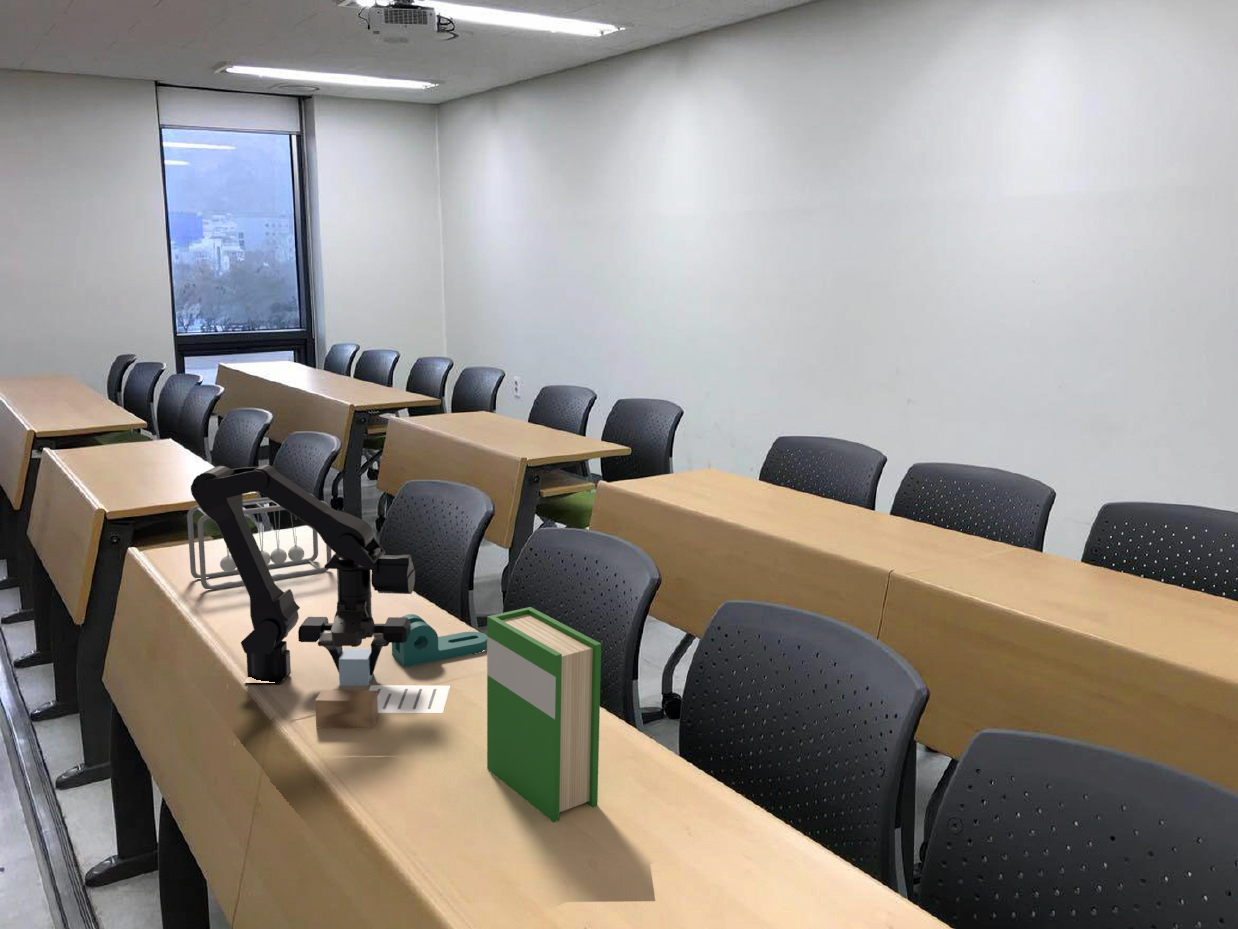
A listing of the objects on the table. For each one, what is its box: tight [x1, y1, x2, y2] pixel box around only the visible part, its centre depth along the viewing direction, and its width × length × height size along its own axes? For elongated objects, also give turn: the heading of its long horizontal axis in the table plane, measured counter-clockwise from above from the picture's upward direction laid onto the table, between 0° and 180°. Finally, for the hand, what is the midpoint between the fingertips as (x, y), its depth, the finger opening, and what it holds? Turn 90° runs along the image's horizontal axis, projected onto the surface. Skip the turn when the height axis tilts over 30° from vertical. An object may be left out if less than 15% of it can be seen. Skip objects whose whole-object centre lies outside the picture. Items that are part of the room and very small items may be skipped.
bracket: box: [391, 613, 487, 668], centre depth 189 cm, size 18×7×8 cm, turn 121°
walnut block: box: [314, 689, 379, 730], centre depth 160 cm, size 9×4×5 cm, turn 91°
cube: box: [338, 647, 374, 686], centre depth 176 cm, size 5×5×5 cm
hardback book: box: [486, 606, 602, 823], centre depth 140 cm, size 18×7×24 cm, turn 38°
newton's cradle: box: [186, 493, 333, 590], centre depth 232 cm, size 30×10×18 cm, turn 126°
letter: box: [368, 684, 451, 714], centre depth 169 cm, size 14×11×1 cm
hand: (356, 674), depth 176 cm, fingers closed on cube, 5 cm apart
